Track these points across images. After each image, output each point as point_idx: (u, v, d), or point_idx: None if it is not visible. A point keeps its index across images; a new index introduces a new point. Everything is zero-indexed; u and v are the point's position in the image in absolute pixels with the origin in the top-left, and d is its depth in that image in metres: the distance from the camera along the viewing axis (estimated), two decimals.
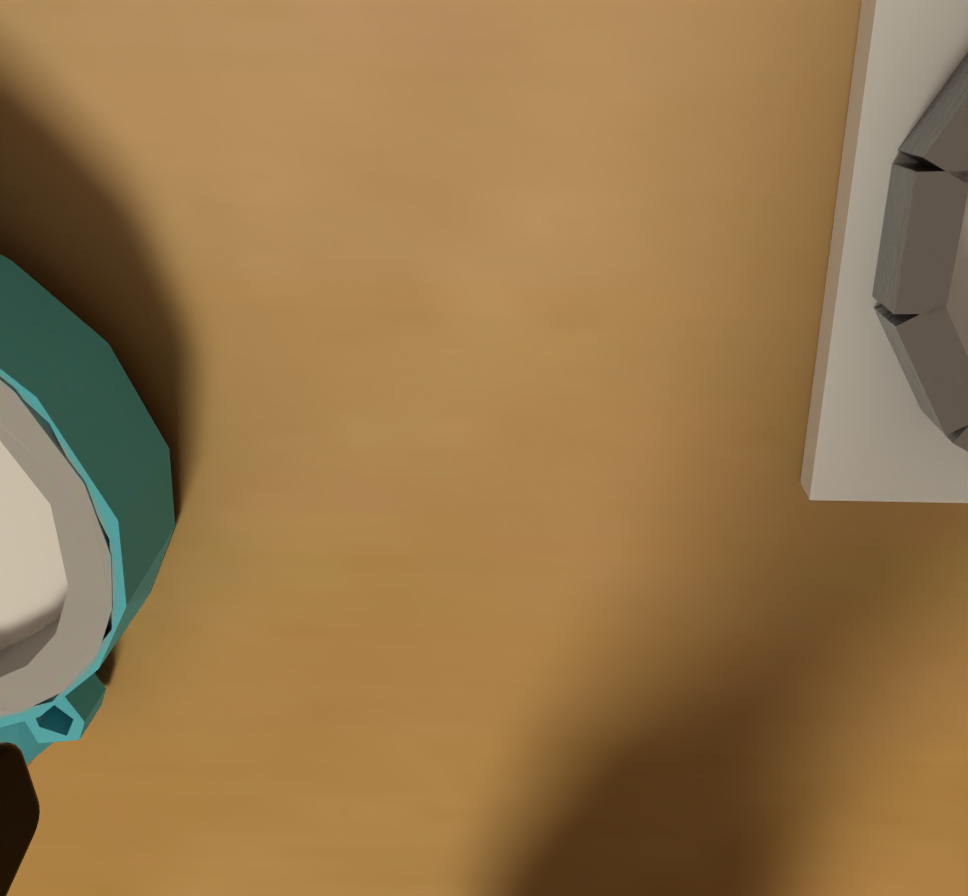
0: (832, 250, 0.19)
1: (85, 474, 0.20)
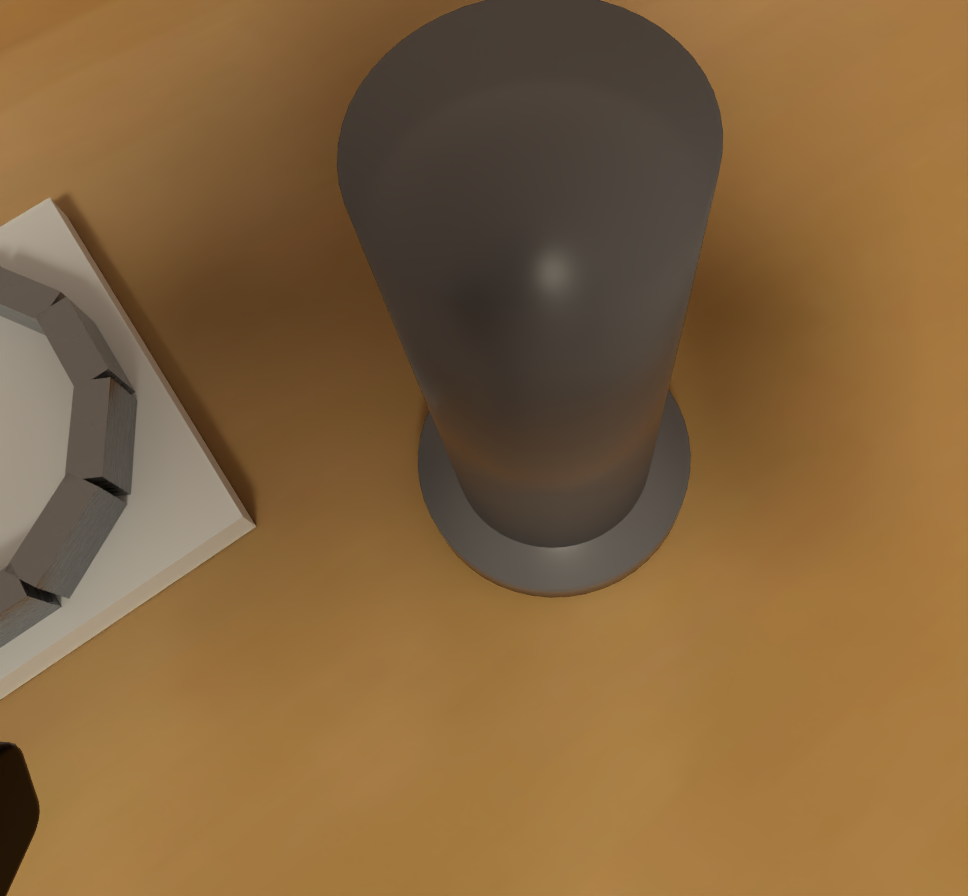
0: None
1: None
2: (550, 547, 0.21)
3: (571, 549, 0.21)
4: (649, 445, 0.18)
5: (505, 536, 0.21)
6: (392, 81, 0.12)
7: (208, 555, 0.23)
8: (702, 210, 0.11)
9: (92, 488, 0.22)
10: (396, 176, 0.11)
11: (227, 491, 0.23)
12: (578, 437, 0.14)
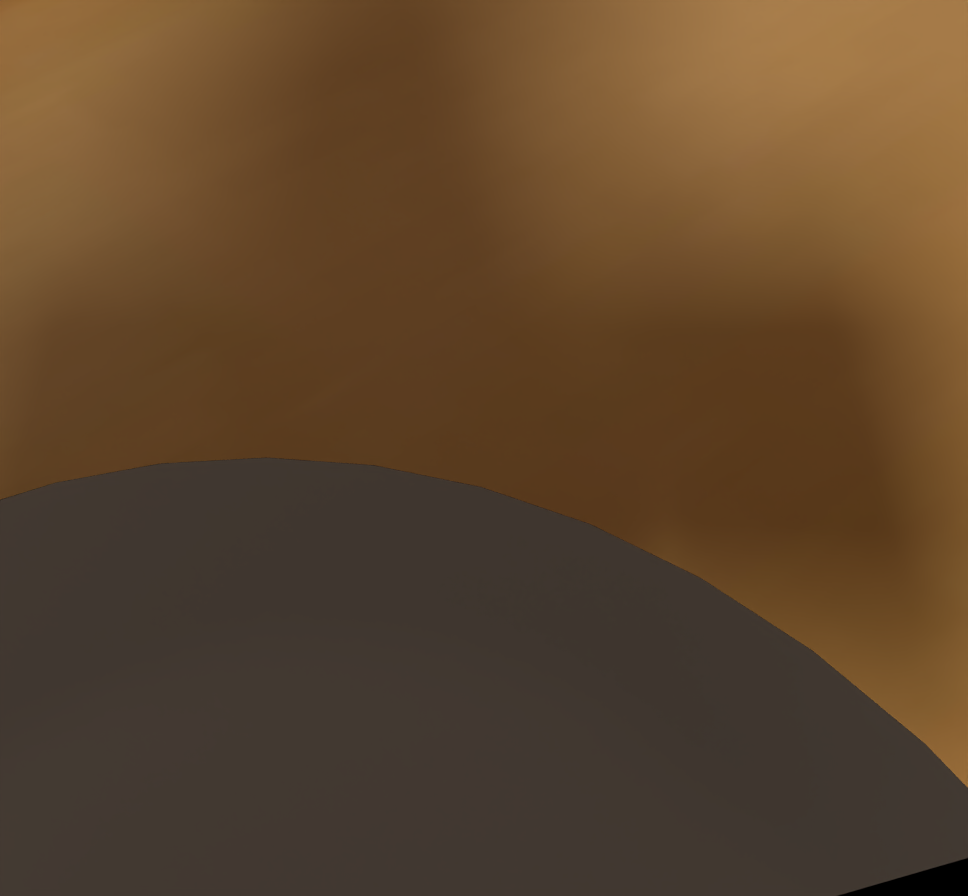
0: None
1: None
2: None
3: None
4: None
5: None
6: None
7: None
8: None
9: None
10: None
11: None
12: None
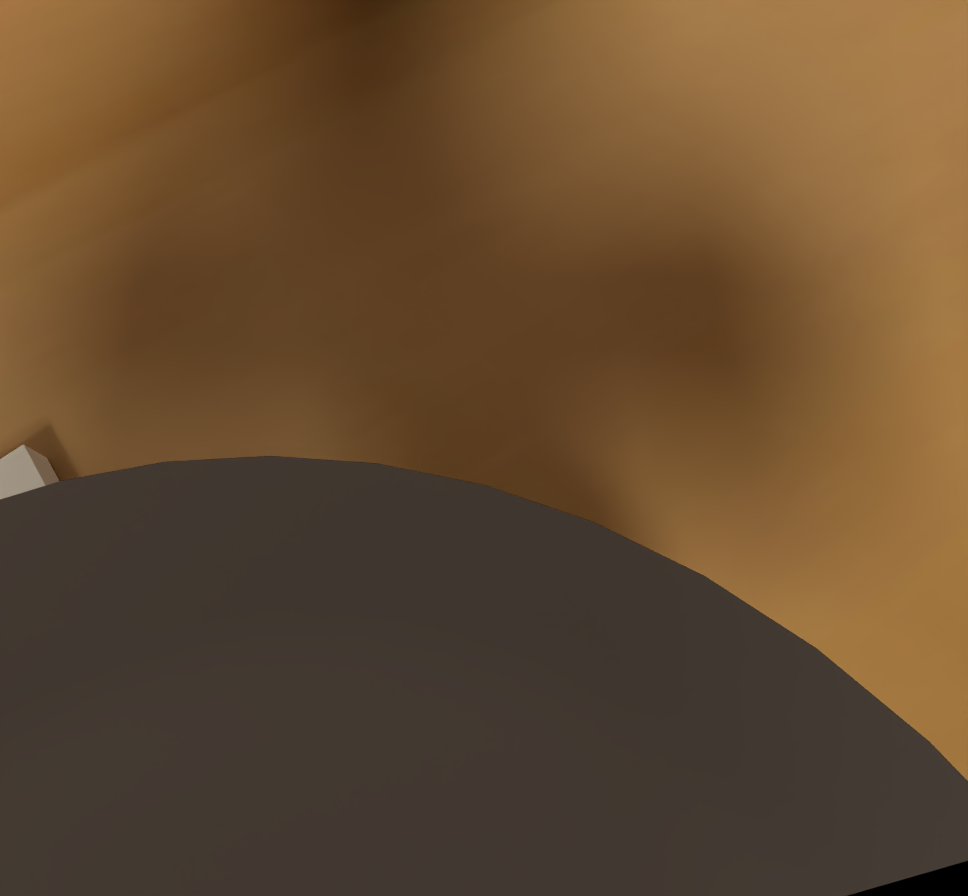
0: None
1: None
2: None
3: None
4: None
5: None
6: None
7: None
8: None
9: None
10: None
11: None
12: None
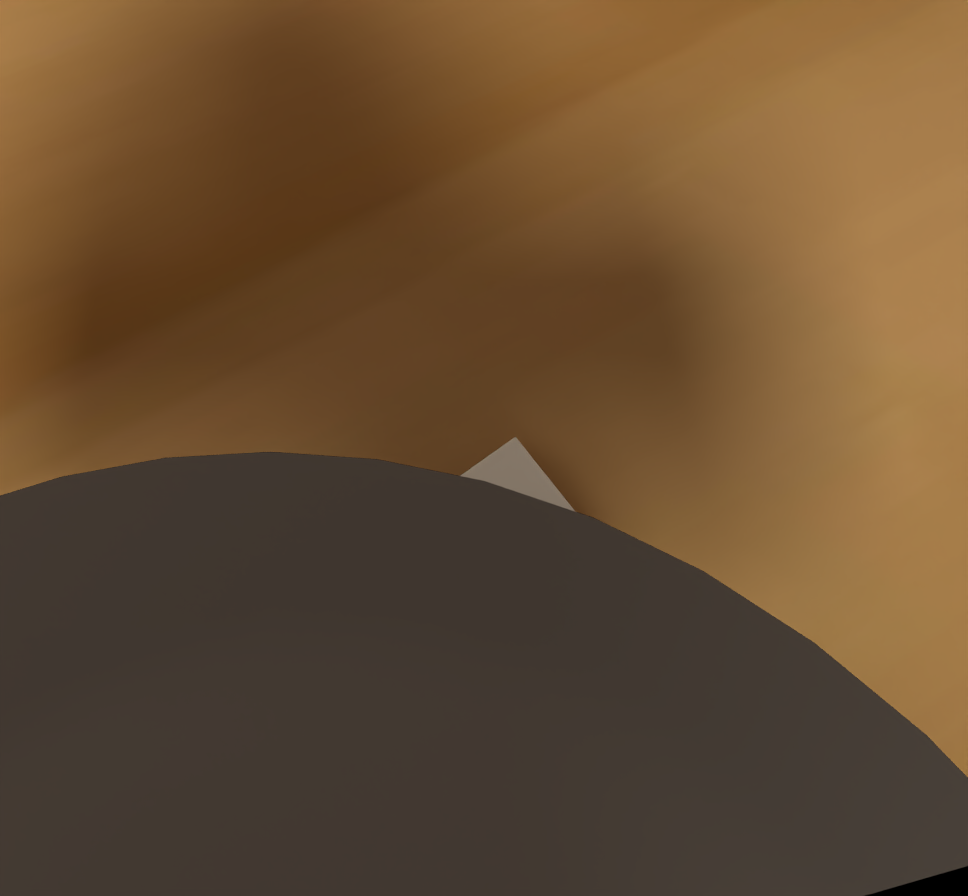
0: None
1: None
2: None
3: None
4: None
5: None
6: None
7: None
8: None
9: None
10: None
11: None
12: None
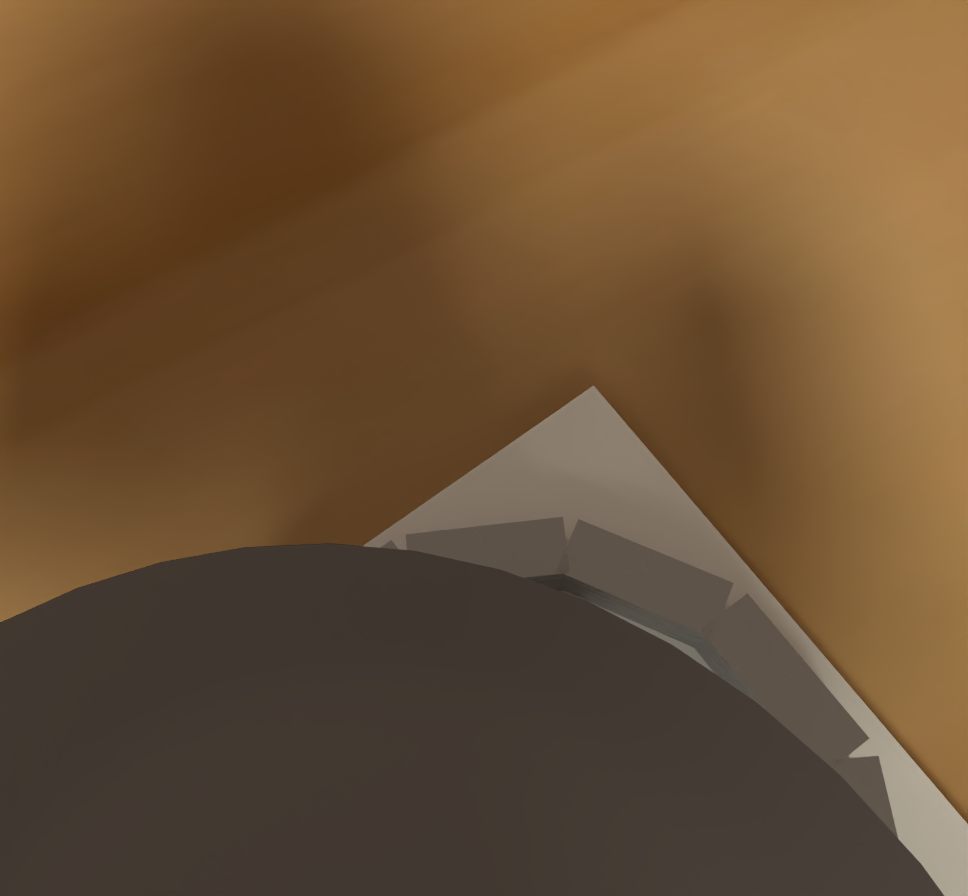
0: None
1: None
2: None
3: None
4: None
5: None
6: None
7: None
8: None
9: None
10: None
11: None
12: None
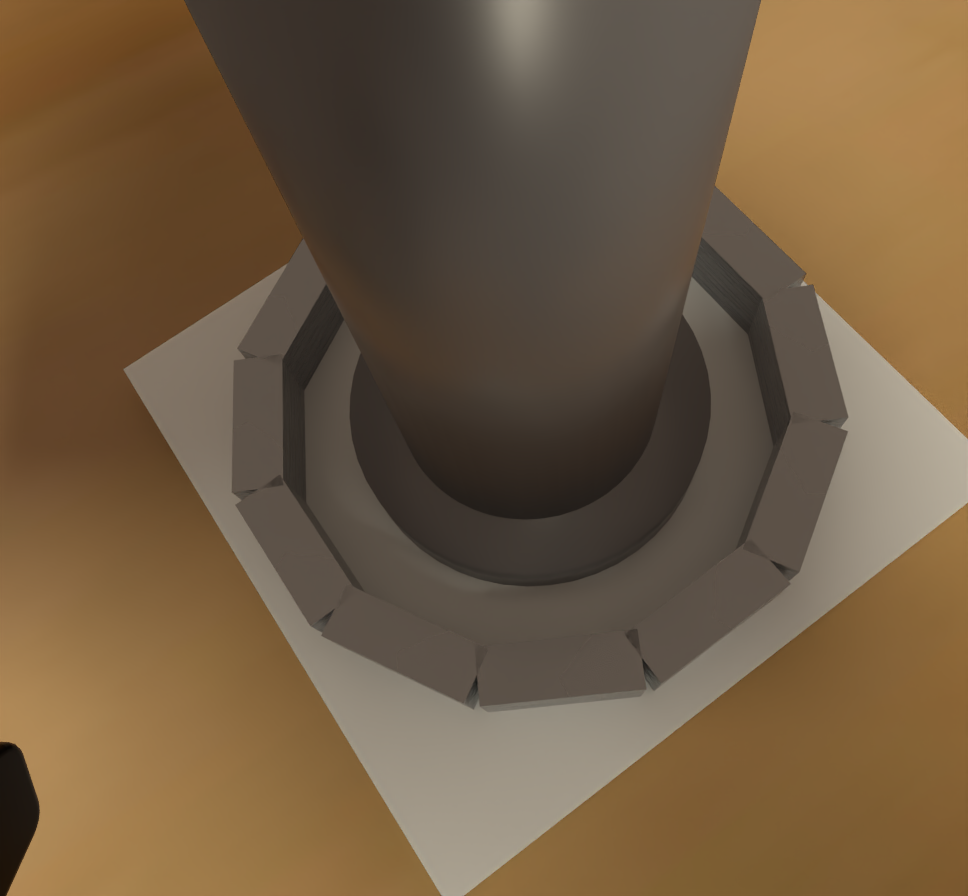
0: None
1: None
2: (525, 518, 0.16)
3: (553, 521, 0.16)
4: (662, 364, 0.12)
5: (464, 505, 0.16)
6: None
7: None
8: None
9: (839, 433, 0.15)
10: None
11: (966, 441, 0.17)
12: (559, 325, 0.09)
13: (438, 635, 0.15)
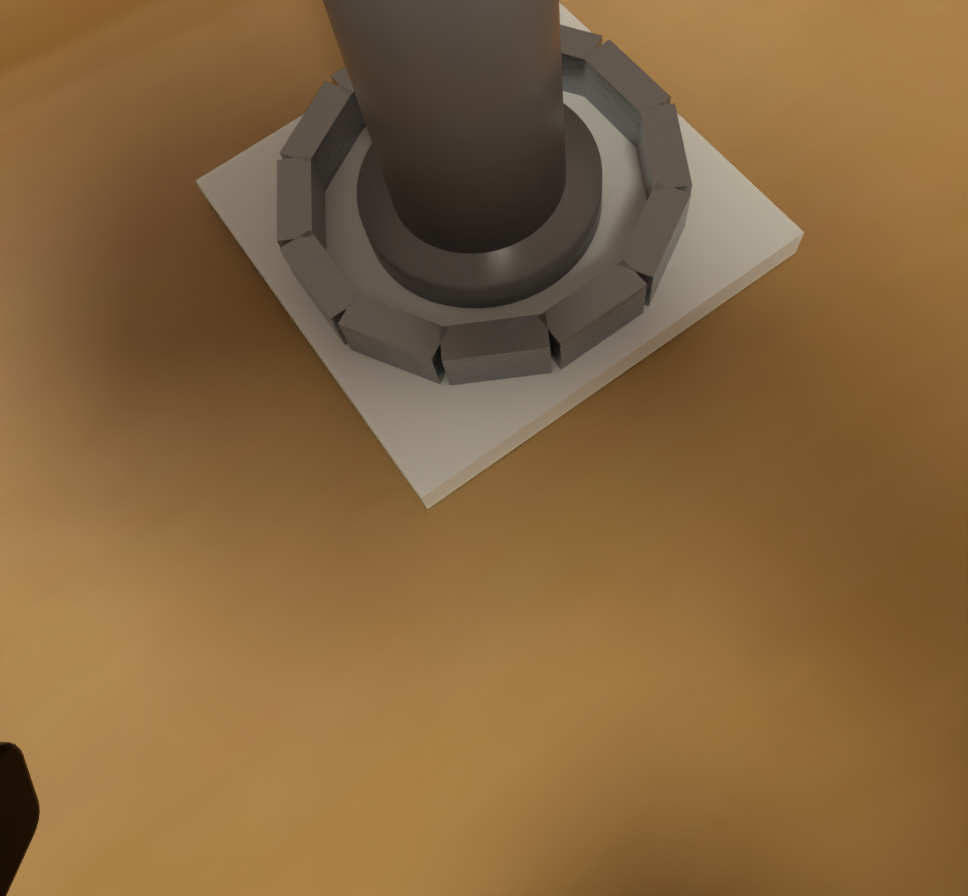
0: (315, 350, 0.25)
1: None
2: (475, 252, 0.23)
3: (494, 253, 0.23)
4: (547, 107, 0.20)
5: (435, 246, 0.24)
6: None
7: (758, 276, 0.25)
8: None
9: (685, 195, 0.23)
10: None
11: (781, 213, 0.24)
12: (464, 34, 0.17)
13: (415, 321, 0.23)
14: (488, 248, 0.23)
